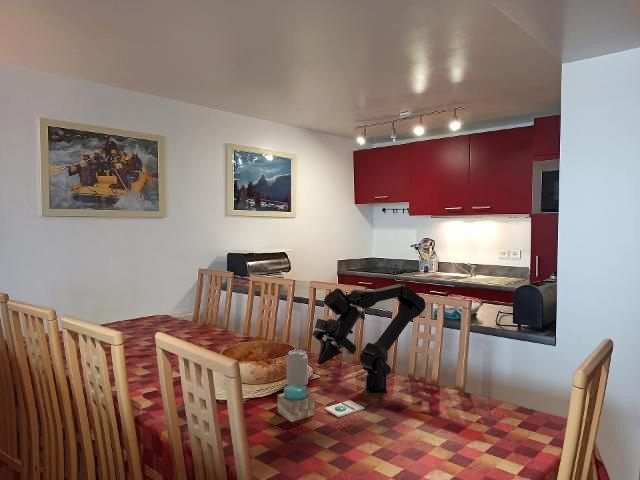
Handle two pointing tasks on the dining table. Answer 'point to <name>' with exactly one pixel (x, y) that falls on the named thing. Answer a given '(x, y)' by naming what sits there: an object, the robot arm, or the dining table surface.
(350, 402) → the pattern card
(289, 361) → the can
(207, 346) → the dining table surface
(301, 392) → the button
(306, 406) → the marble textured cube
